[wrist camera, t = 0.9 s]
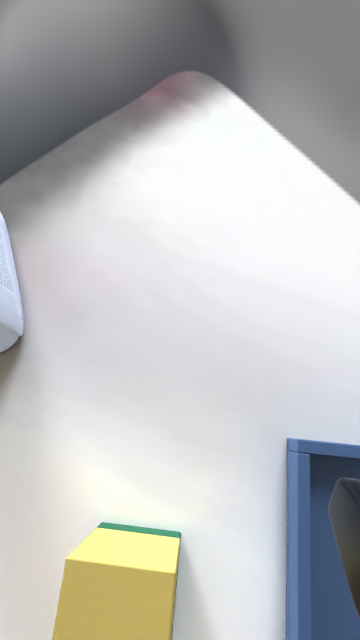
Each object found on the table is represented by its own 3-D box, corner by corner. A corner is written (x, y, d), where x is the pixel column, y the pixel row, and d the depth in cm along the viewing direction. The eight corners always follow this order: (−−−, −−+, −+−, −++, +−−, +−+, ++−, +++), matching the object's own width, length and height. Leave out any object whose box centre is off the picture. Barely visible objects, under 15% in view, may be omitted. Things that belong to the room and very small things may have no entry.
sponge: (169, 658, 15) (158, 760, 11) (82, 644, 16) (34, 739, 11) (181, 531, 17) (175, 572, 12) (101, 521, 17) (65, 557, 12)
